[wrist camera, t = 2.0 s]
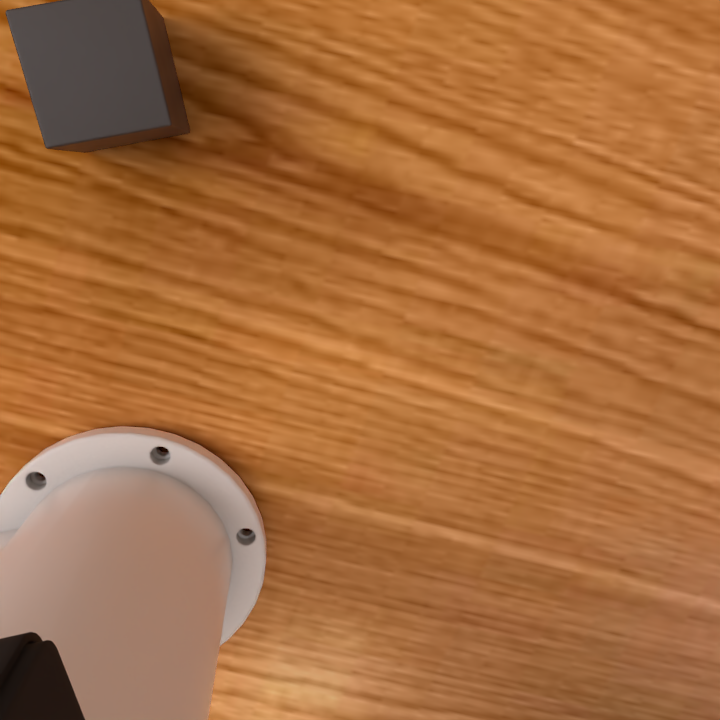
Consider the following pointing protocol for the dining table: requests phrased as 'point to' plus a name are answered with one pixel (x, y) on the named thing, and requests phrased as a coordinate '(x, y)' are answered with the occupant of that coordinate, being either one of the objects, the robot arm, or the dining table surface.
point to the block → (98, 73)
